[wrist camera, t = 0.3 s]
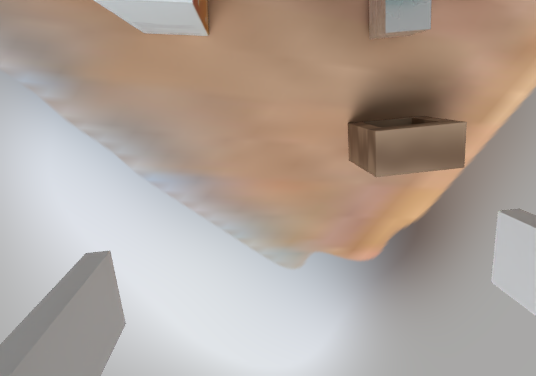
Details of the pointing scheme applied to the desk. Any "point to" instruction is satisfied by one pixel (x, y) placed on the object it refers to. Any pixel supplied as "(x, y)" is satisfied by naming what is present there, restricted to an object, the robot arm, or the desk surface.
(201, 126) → the desk surface
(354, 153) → the socket
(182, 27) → the small box
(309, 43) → the desk surface
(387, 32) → the teal-ended white column
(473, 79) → the desk surface
